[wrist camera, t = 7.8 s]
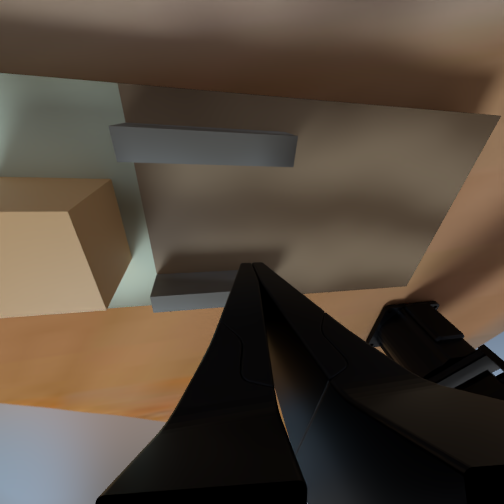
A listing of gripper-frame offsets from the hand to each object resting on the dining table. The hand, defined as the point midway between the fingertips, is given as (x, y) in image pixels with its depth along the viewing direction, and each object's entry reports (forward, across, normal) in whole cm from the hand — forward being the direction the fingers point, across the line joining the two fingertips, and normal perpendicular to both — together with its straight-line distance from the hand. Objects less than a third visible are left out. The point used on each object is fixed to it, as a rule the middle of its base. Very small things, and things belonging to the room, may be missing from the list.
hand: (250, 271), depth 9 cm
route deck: (+7, +2, 0) cm, 8 cm away
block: (+5, +8, 0) cm, 10 cm away
